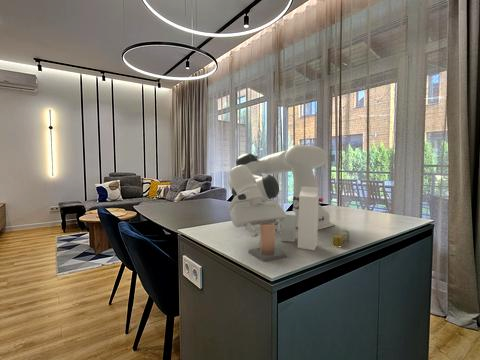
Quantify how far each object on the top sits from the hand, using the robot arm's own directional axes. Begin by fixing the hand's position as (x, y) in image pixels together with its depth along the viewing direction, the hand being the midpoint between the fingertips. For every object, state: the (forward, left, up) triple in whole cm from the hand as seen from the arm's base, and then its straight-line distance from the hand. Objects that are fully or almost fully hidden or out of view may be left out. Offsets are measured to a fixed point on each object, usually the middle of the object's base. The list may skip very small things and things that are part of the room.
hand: (267, 234), depth 87 cm
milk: (-18, 0, -7) cm, 19 cm away
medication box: (-33, +3, -7) cm, 34 cm away
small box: (-18, -11, -7) cm, 22 cm away
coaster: (0, 0, -7) cm, 7 cm away
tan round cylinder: (0, 0, -6) cm, 6 cm away
